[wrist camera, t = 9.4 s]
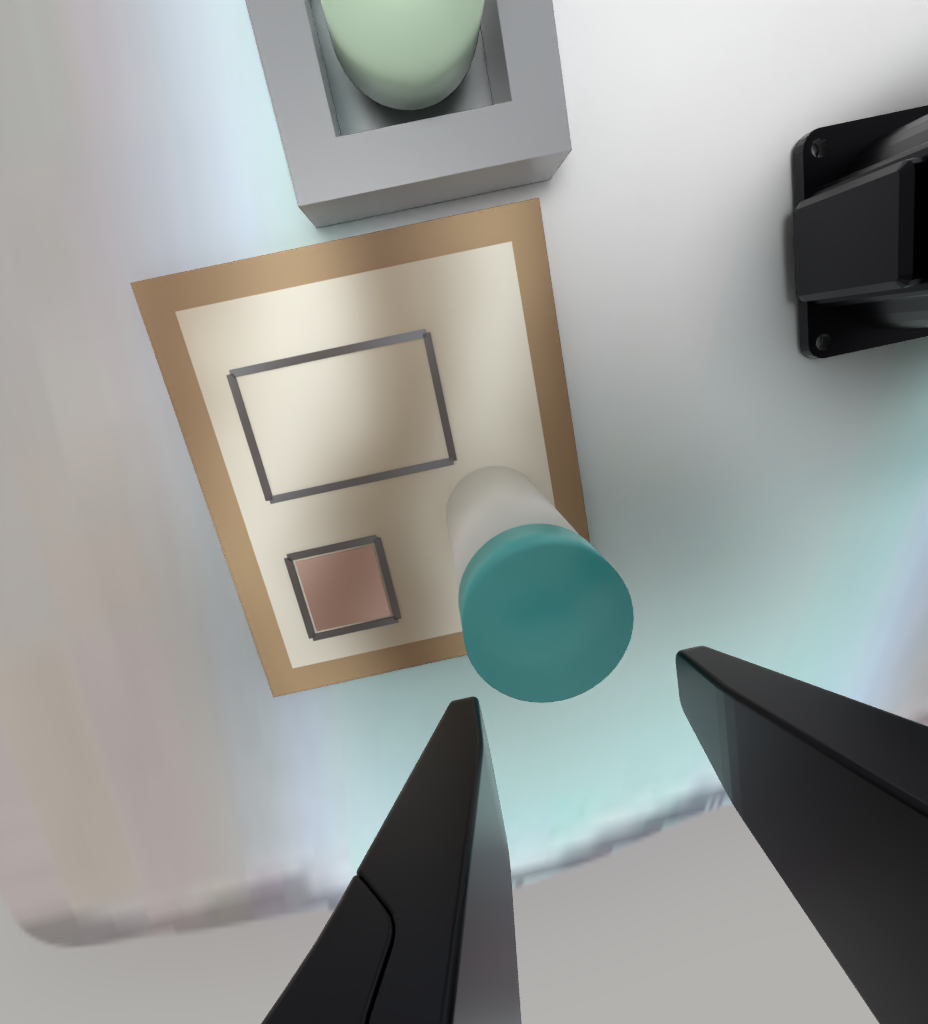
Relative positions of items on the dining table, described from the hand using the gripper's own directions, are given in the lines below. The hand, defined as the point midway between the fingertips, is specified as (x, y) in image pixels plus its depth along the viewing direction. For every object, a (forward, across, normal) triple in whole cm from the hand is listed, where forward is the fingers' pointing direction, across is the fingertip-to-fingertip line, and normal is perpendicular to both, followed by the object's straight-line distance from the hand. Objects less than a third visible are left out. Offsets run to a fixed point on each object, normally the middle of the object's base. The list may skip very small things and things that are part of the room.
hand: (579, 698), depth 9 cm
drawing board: (+11, +3, -2) cm, 12 cm away
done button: (+9, 0, -13) cm, 16 cm away
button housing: (+11, 0, -13) cm, 17 cm away
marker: (+10, 0, 0) cm, 10 cm away
